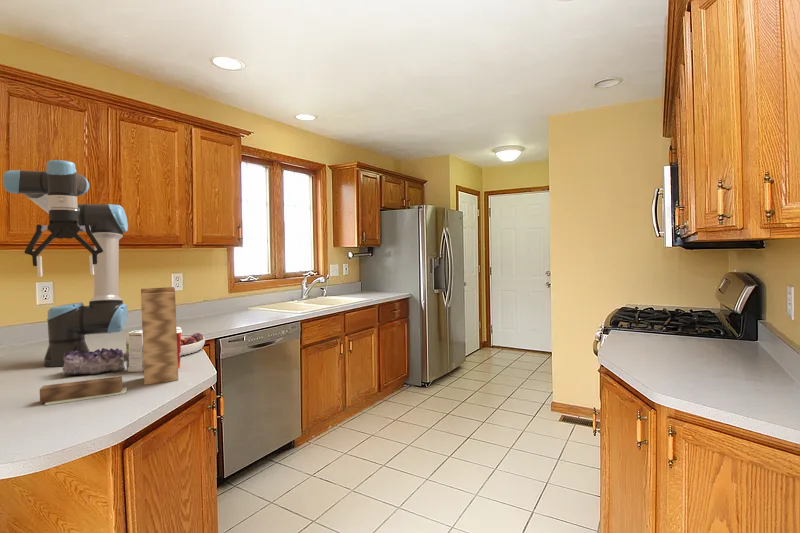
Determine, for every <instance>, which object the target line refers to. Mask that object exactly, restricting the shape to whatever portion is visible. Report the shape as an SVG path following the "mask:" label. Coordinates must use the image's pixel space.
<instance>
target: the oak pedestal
mask: <svg viewBox="0 0 800 533" xmlns="http://www.w3.org/2000/svg"><path fill="white" fill-rule="evenodd" d="M176 306H177V305H176V288H175V286H173V287H171V286H170V287H146V288H141V289H140V307H141V327H142V328H141V330H142V334H143V358H144V371H143V377H144V378H143V379H144V383H143V384H144V386H146V384H147V385H154V384H160V383H167V382H174V381H179V368H178V356H177V329H176V327H177V310H176V309H177V308H176Z"/></svg>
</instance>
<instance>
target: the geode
mask: <svg viewBox="0 0 800 533" xmlns="http://www.w3.org/2000/svg"><path fill="white" fill-rule="evenodd" d="M89 351H90V352H89ZM89 351H88V352H87V351H84V350H83V351H82V352H80V351H75V352H74V351H71V352H67V353H64V357H63V359H64V366H62V373H63V376H71V375H72V376H74V375H93V376H95V375H98V374H104V373H107V372H113V373H114V372H115V373H119V372H122V371H124V370H126V366H125V358H124V353H123V350H122V349H119V348H118V347H117V348H116V349H113V347H112V348H111V347H110V349H108V348H105V347H103V348H101V350H100V349H99V348H98V349H96V350H94V351H91V350H89Z"/></svg>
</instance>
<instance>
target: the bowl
mask: <svg viewBox="0 0 800 533" xmlns="http://www.w3.org/2000/svg"><path fill="white" fill-rule="evenodd" d="M205 342H206V337H205V336H203V334H201V333H199V332H195V333H193V334H181V356H180V357H183V355H184V356H187V354H188V355H191V353H192V354H194V353H196V352H199V351H200V350H201V349H202V348H203V347H204V345H205Z"/></svg>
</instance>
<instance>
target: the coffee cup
mask: <svg viewBox="0 0 800 533" xmlns="http://www.w3.org/2000/svg"><path fill="white" fill-rule="evenodd" d="M181 328H182V327H180V326H176V329H177V356H178V369H180V368H181V357H182V356H181V335H182V332H183V330H182V329H181Z"/></svg>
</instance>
